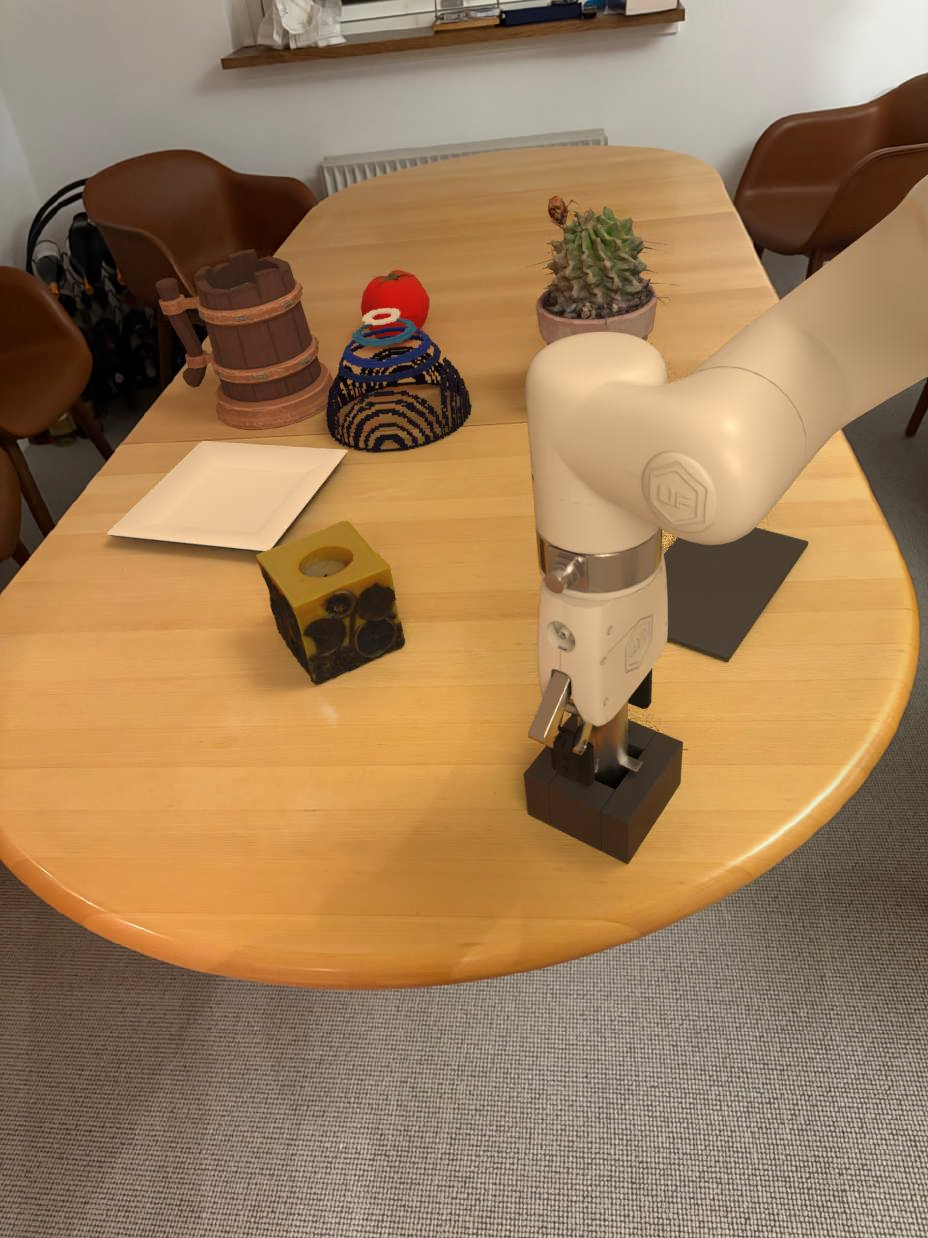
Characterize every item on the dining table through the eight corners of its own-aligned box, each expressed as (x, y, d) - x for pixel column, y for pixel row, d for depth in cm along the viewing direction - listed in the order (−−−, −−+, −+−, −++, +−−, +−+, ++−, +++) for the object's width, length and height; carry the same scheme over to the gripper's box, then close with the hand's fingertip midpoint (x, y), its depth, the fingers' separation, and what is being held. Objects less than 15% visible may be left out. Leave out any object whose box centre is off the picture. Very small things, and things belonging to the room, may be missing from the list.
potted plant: (663, 429, 112) (670, 224, 96) (517, 419, 119) (501, 226, 103) (687, 367, 125) (697, 177, 109) (554, 361, 131) (544, 180, 115)
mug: (214, 377, 142) (173, 249, 129) (350, 368, 138) (321, 236, 125) (171, 433, 128) (120, 297, 115) (321, 426, 124) (286, 284, 111)
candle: (277, 633, 90) (250, 554, 84) (365, 594, 93) (346, 516, 87) (314, 690, 83) (288, 608, 77) (409, 646, 86) (391, 565, 80)
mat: (807, 545, 91) (808, 540, 90) (728, 662, 79) (728, 657, 79) (698, 516, 97) (699, 512, 97) (609, 621, 85) (609, 616, 85)
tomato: (355, 351, 143) (342, 288, 136) (382, 320, 152) (371, 259, 145) (419, 352, 139) (409, 288, 133) (443, 320, 148) (435, 258, 142)
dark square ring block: (680, 783, 70) (683, 741, 67) (627, 865, 65) (628, 824, 62) (584, 741, 74) (582, 700, 71) (527, 814, 69) (522, 773, 66)
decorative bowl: (474, 378, 130) (463, 280, 121) (466, 445, 115) (452, 339, 106) (343, 388, 133) (322, 293, 123) (318, 456, 117) (291, 353, 108)
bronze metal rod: (656, 788, 70) (660, 680, 62) (620, 843, 66) (619, 735, 59) (590, 759, 73) (586, 652, 65) (552, 809, 69) (543, 703, 62)
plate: (110, 546, 106) (104, 532, 105) (205, 452, 122) (201, 439, 121) (273, 564, 100) (268, 549, 98) (351, 462, 115) (348, 448, 114)
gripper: (579, 648, 47) (588, 844, 58) (717, 487, 57) (701, 682, 68) (465, 605, 50) (494, 797, 62) (613, 462, 60) (615, 650, 72)
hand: (603, 736), depth 65 cm, fingers open, 7 cm apart
